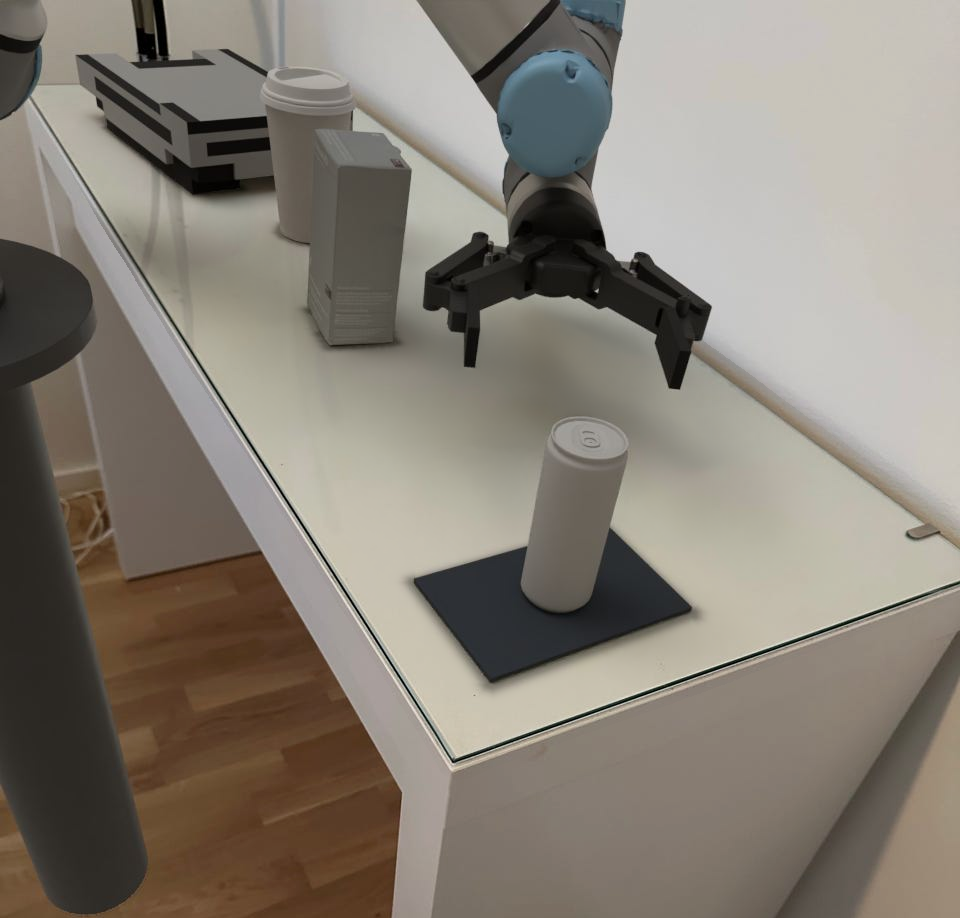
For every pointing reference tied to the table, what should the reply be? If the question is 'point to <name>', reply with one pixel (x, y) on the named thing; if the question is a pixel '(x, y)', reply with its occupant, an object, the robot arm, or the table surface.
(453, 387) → the table surface
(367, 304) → the cosmetic box
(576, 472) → the beverage can
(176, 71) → the game console
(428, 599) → the mat
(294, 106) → the coffee cup
